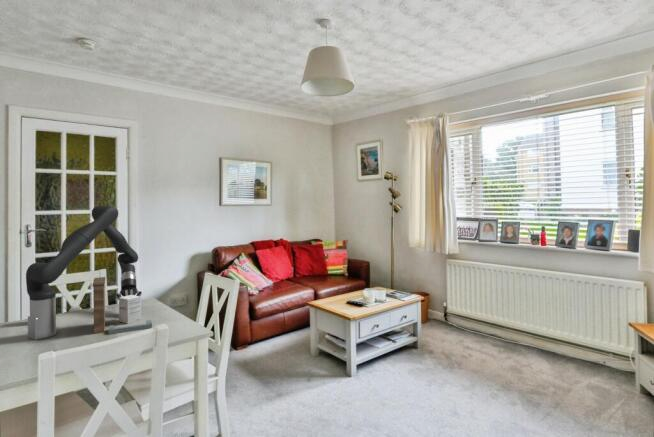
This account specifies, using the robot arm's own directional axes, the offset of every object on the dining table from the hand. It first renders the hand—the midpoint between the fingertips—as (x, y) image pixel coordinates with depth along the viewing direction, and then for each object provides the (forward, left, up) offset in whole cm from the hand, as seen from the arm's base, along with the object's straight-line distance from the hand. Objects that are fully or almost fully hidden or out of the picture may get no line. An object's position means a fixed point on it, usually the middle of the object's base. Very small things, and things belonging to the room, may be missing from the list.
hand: (129, 308), depth 190 cm
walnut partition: (-18, -3, -4) cm, 19 cm away
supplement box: (-5, -7, -5) cm, 9 cm away
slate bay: (-12, -18, -4) cm, 22 cm away
